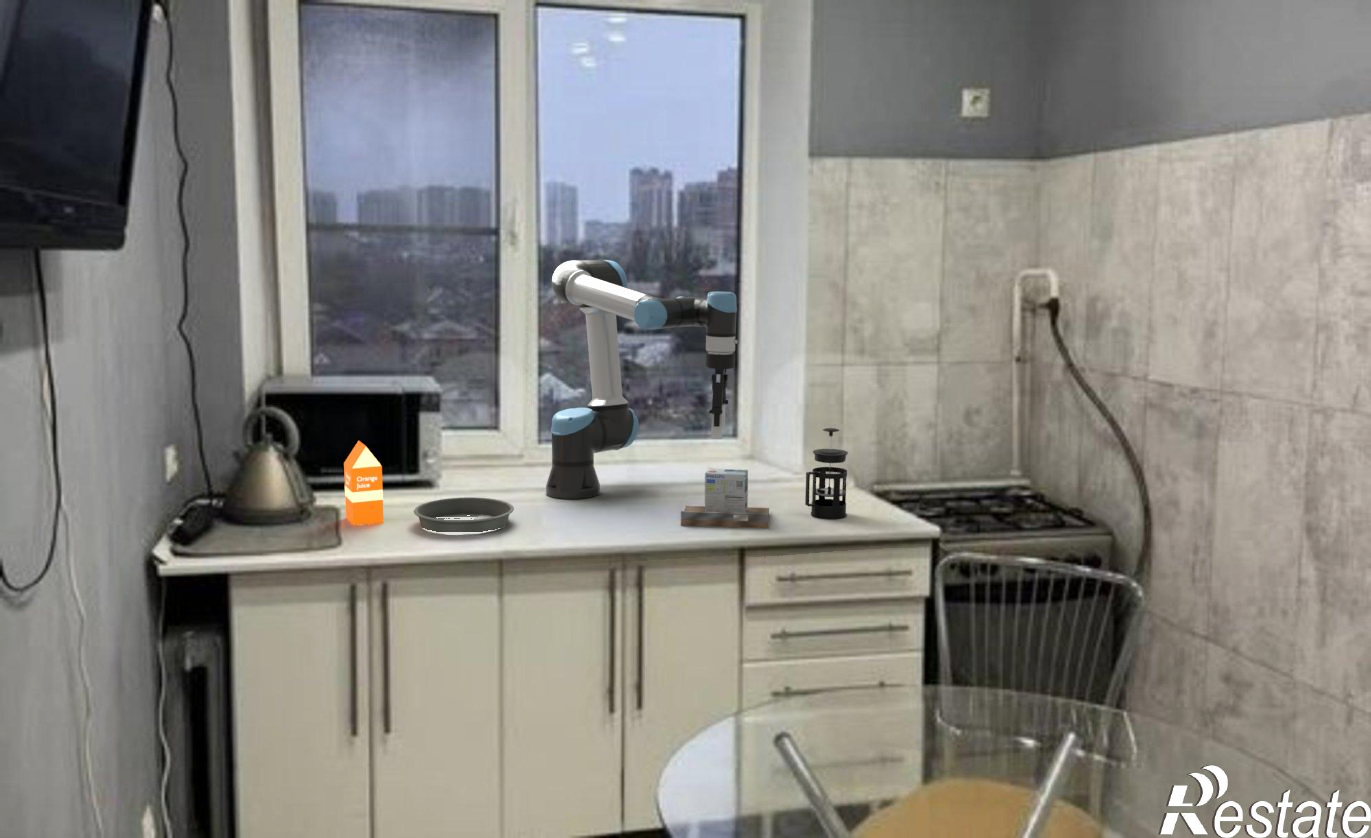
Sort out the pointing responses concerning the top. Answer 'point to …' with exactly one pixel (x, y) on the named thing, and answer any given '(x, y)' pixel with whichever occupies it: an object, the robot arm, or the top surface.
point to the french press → (829, 506)
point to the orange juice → (363, 487)
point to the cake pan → (463, 514)
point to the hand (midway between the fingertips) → (718, 433)
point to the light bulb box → (726, 490)
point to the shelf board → (725, 518)
